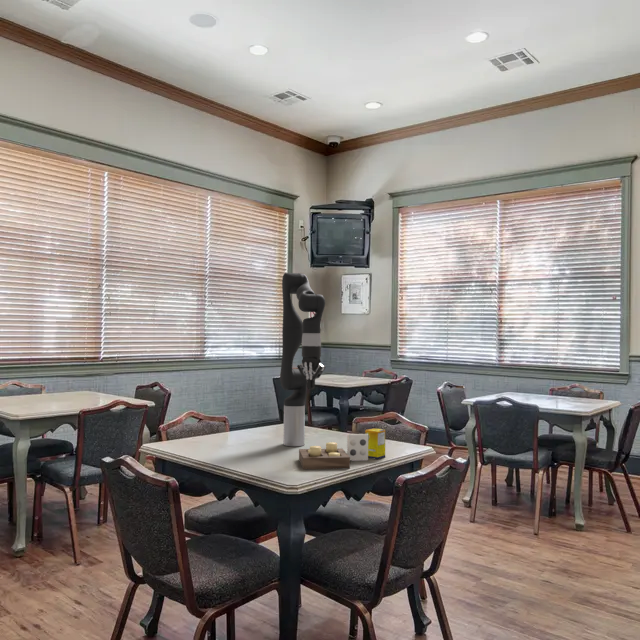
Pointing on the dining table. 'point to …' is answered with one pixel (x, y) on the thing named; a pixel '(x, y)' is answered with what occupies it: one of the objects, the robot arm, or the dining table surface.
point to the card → (357, 446)
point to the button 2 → (315, 451)
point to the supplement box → (376, 443)
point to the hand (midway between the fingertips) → (310, 389)
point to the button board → (324, 460)
